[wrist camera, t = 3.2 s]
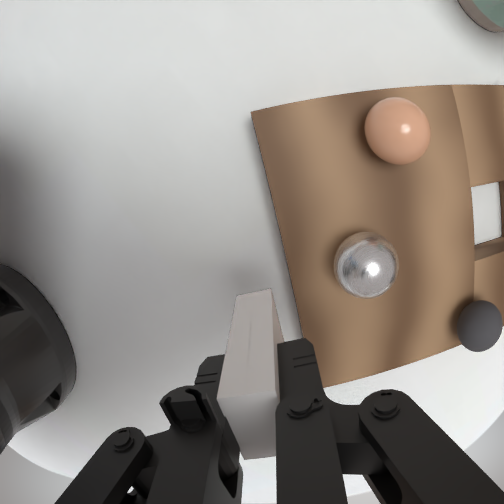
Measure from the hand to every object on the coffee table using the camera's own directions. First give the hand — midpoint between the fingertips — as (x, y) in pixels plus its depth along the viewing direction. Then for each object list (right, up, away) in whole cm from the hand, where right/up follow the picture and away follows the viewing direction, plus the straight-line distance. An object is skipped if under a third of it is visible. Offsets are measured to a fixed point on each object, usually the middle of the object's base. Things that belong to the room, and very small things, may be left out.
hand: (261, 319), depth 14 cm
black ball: (+15, -2, +3) cm, 15 cm away
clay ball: (+7, +9, 0) cm, 11 cm away
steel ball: (+5, +2, +2) cm, 6 cm away
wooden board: (+11, +5, +6) cm, 14 cm away
